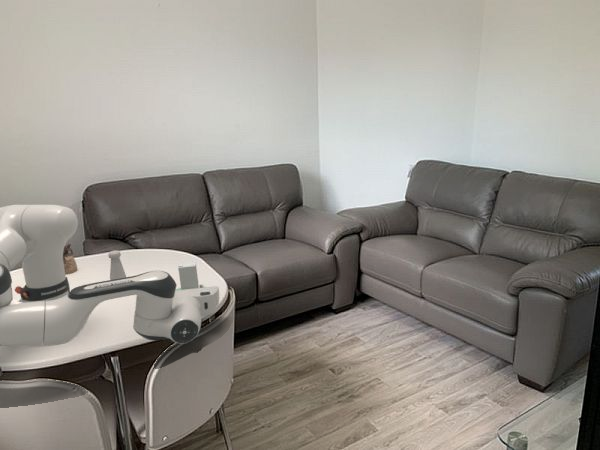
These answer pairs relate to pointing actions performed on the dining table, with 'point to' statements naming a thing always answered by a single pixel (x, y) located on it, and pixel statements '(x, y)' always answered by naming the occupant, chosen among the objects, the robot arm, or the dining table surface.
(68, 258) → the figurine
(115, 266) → the salt shaker
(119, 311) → the dining table surface
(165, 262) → the dining table surface
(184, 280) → the skincare box
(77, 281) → the dining table surface
